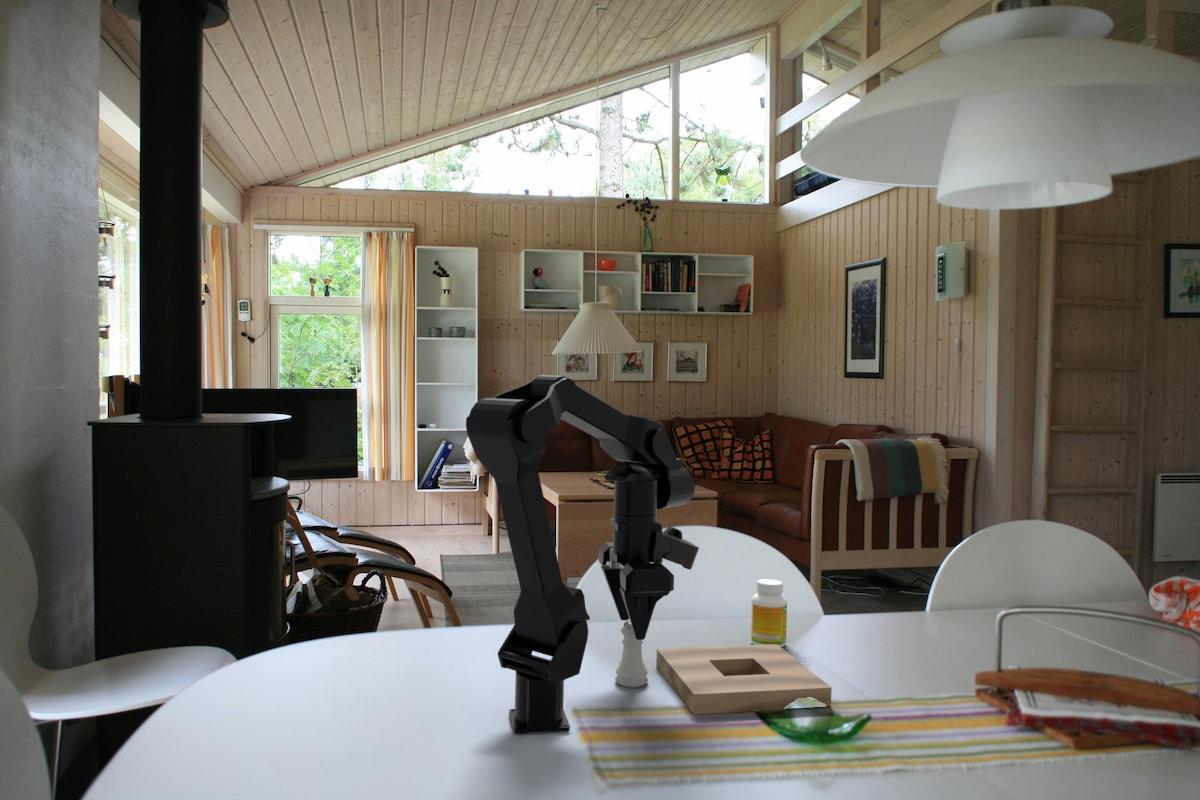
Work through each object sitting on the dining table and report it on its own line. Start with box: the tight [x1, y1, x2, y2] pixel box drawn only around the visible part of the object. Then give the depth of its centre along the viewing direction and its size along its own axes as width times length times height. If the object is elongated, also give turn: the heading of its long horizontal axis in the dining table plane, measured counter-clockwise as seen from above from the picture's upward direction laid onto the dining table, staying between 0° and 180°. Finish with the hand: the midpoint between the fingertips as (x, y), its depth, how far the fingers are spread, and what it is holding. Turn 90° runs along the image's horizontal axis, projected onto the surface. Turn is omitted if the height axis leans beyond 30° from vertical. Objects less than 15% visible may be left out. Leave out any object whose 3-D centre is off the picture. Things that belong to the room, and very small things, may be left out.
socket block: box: [655, 644, 833, 716], centre depth 119 cm, size 18×18×2 cm
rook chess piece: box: [614, 620, 649, 689], centre depth 120 cm, size 4×4×8 cm
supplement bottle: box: [750, 578, 788, 648], centre depth 138 cm, size 5×5×10 cm
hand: (632, 629), depth 119 cm, fingers open, 9 cm apart
